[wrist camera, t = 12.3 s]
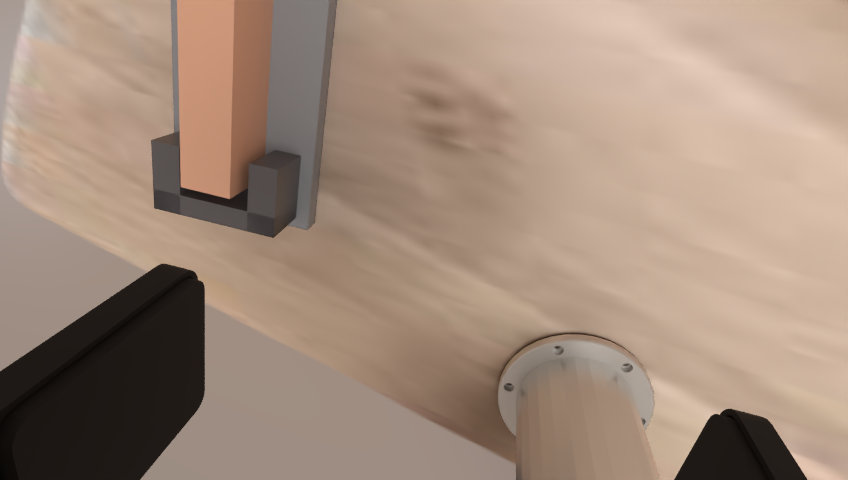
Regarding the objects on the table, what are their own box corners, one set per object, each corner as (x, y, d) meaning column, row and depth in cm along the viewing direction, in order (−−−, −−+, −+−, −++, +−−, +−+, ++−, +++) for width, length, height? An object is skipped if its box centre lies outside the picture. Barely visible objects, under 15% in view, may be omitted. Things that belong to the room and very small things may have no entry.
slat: (225, -152, 30) (173, -184, 25) (281, -141, 29) (238, -172, 25) (220, 167, 38) (180, 187, 33) (263, 178, 38) (229, 199, 33)
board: (180, -219, 30) (164, -231, 29) (355, -189, 29) (348, -199, 28) (187, 192, 41) (176, 197, 40) (314, 223, 40) (307, 230, 39)
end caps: (181, -211, 29) (133, -245, 25) (329, -184, 28) (302, -215, 25) (187, 191, 39) (154, 208, 36) (295, 217, 39) (273, 237, 35)
